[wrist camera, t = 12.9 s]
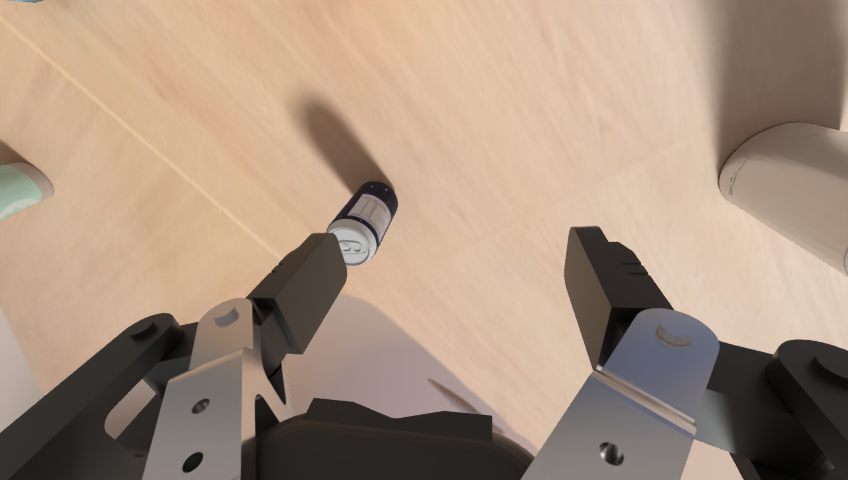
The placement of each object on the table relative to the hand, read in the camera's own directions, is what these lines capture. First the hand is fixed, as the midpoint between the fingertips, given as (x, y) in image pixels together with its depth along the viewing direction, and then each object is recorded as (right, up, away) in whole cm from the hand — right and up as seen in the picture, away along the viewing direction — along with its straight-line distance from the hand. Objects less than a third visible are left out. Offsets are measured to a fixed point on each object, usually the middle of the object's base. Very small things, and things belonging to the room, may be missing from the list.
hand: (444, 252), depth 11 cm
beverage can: (-7, +6, +31) cm, 33 cm away
